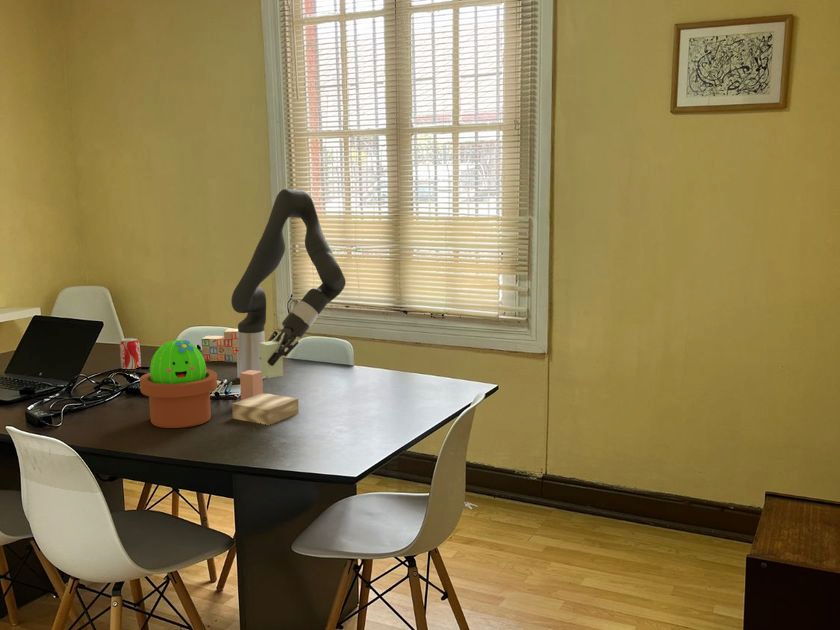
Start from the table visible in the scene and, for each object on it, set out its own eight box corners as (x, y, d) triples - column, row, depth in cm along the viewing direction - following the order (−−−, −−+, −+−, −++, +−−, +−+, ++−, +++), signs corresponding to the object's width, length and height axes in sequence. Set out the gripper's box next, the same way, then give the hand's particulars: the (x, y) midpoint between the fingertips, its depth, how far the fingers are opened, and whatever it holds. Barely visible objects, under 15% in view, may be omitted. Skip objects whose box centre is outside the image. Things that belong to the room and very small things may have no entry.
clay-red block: (241, 403, 269) (239, 373, 268) (251, 399, 274) (249, 369, 272) (253, 405, 267) (252, 374, 265) (263, 401, 271) (262, 371, 270)
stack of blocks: (202, 361, 329) (200, 330, 327) (207, 358, 335) (206, 327, 333) (255, 362, 327) (254, 331, 325) (260, 359, 333) (259, 328, 331)
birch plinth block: (232, 419, 253) (232, 403, 252) (263, 408, 265) (262, 392, 264) (269, 426, 246) (268, 410, 246) (298, 414, 258) (298, 398, 258)
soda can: (137, 373, 310) (135, 341, 308) (118, 373, 311) (116, 341, 308) (143, 368, 317) (142, 337, 315) (125, 368, 317) (123, 337, 315)
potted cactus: (140, 414, 258) (135, 334, 253) (213, 406, 266) (209, 329, 261) (145, 435, 238) (139, 348, 233) (224, 426, 246) (220, 342, 241)
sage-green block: (261, 374, 257) (259, 342, 255) (276, 372, 260) (275, 340, 258) (268, 377, 253) (266, 345, 251) (283, 375, 255) (282, 343, 254)
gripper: (282, 308, 263) (247, 351, 258) (302, 314, 251) (267, 359, 247) (298, 323, 267) (264, 365, 262) (319, 330, 255) (284, 374, 250)
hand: (265, 362), depth 254 cm, fingers closed on sage-green block, 5 cm apart
